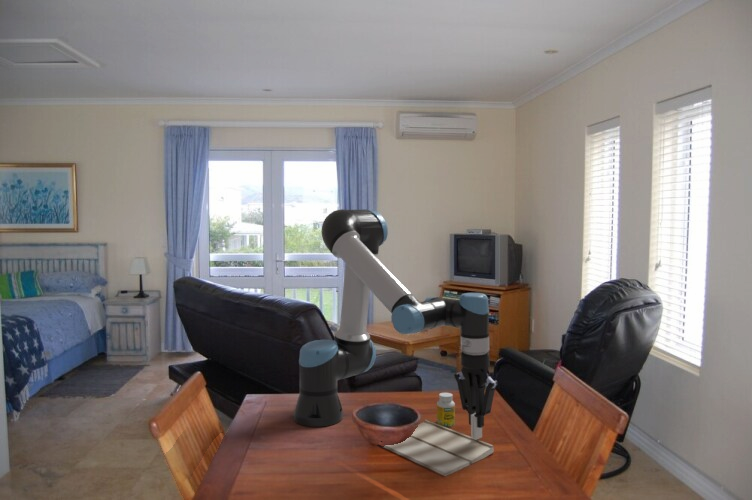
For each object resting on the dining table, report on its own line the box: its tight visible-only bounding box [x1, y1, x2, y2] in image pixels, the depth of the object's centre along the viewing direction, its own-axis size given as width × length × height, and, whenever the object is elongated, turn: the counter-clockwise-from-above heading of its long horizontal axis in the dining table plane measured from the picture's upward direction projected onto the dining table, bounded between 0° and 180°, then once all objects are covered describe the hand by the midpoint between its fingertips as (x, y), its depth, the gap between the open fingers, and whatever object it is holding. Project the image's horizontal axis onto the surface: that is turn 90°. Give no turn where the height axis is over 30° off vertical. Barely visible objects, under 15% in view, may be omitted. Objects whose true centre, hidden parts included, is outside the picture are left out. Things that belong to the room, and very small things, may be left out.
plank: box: [411, 419, 495, 465], centre depth 150 cm, size 24×9×2 cm, turn 42°
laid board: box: [383, 437, 472, 477], centre depth 144 cm, size 24×10×2 cm, turn 42°
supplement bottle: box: [436, 392, 456, 428], centre depth 164 cm, size 5×5×10 cm
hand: (476, 437), depth 148 cm, fingers closed
